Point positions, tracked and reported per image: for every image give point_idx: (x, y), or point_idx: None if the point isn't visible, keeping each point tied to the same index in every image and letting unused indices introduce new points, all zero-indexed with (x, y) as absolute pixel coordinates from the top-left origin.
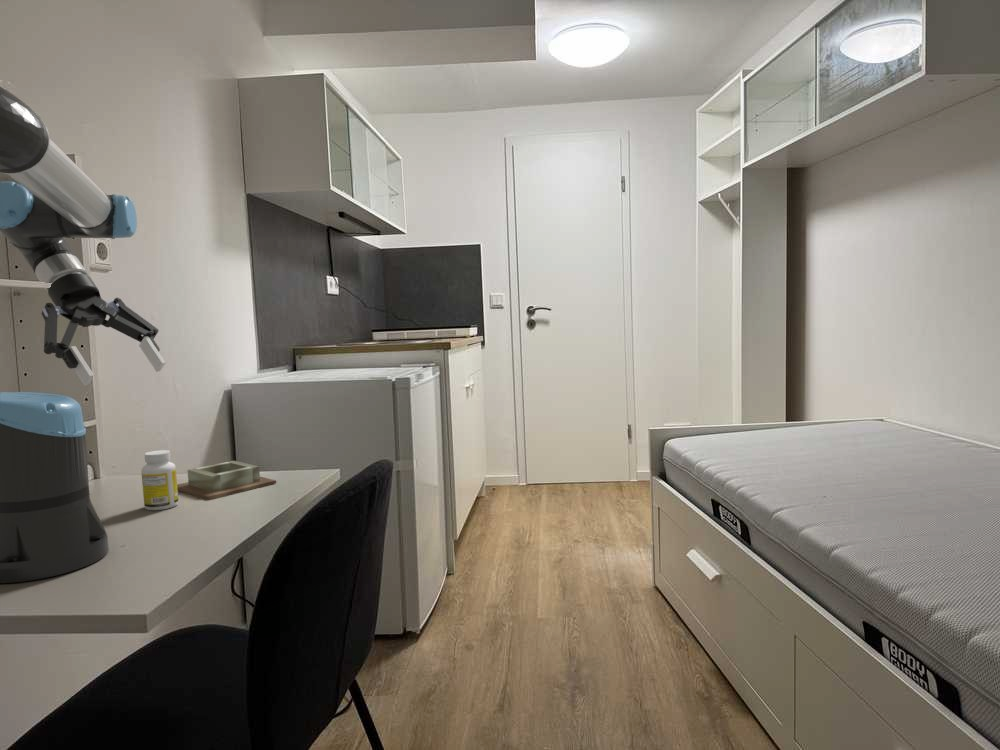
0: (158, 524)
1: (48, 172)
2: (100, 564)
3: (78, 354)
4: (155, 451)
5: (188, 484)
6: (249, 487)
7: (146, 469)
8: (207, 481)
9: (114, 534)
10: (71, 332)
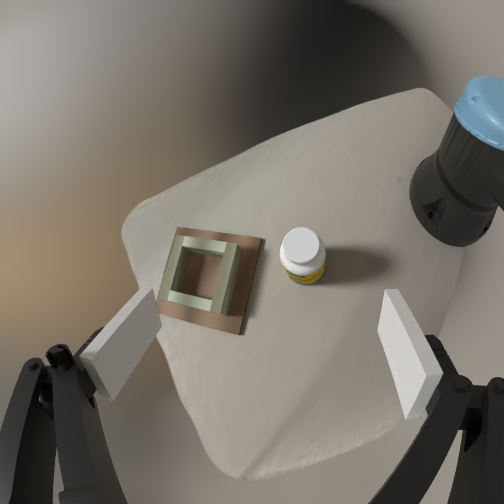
0: (349, 206)
1: None
2: (425, 158)
3: (420, 344)
4: (297, 254)
5: (226, 317)
6: (209, 231)
7: (323, 247)
8: (236, 260)
9: (390, 217)
10: (424, 451)
